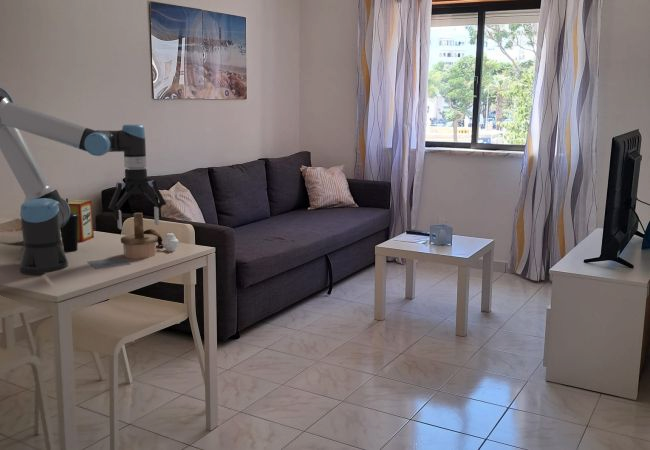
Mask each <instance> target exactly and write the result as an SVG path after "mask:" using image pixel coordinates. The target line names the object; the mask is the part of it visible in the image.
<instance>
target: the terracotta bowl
mask: <svg viewBox="0 0 650 450" xmlns="http://www.w3.org/2000/svg"><path fill="white" fill-rule="evenodd" d="M156 243H157V242H154V243H150V244H143V245H127V244H123V243H122V245H123V257H125V258H127V259H133V260H134V259H135V260H137V259H147V258H153V257H155V256H156V255H157V245H156Z"/></svg>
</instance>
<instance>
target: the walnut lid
mask: <svg viewBox="0 0 650 450" xmlns="http://www.w3.org/2000/svg"><path fill="white" fill-rule="evenodd" d="M143 214H144V213H143V212H134V213H133V227H134V228H133V230H134V231H133V232H134V233H133V234H129V235H125V236H123V237H120V243H121V244H122V245H123V244H127V245H143V244H150V243H154V242H156V243H158V242H157V241H158V236H156V235H151V234H144V231H145V230H144V217H143V216H144V215H143Z"/></svg>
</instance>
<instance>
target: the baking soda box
mask: <svg viewBox="0 0 650 450" xmlns="http://www.w3.org/2000/svg"><path fill="white" fill-rule="evenodd" d="M68 205H69V207H70V212H74V213H76V214H79V216H78V241H77V243H84V242H86V241H89V240H92V239H93V238H95V237H94V234H95V233H94V223H93V222H94V221H93V220H94V219H93V204H92V200H91V199H90V200H89V199H85V200H83V199H75V200H72V201H68Z"/></svg>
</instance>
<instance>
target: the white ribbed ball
mask: <svg viewBox="0 0 650 450" xmlns="http://www.w3.org/2000/svg"><path fill="white" fill-rule="evenodd" d="M162 244H163V246H164V248H163V249H165V251H166V252H174V251H176V249H177V247H178V244H179V239H177V238H176V236H175V234H174V233H172V232H168V233H166V234H165V235H164V237H163V238H162Z"/></svg>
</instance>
